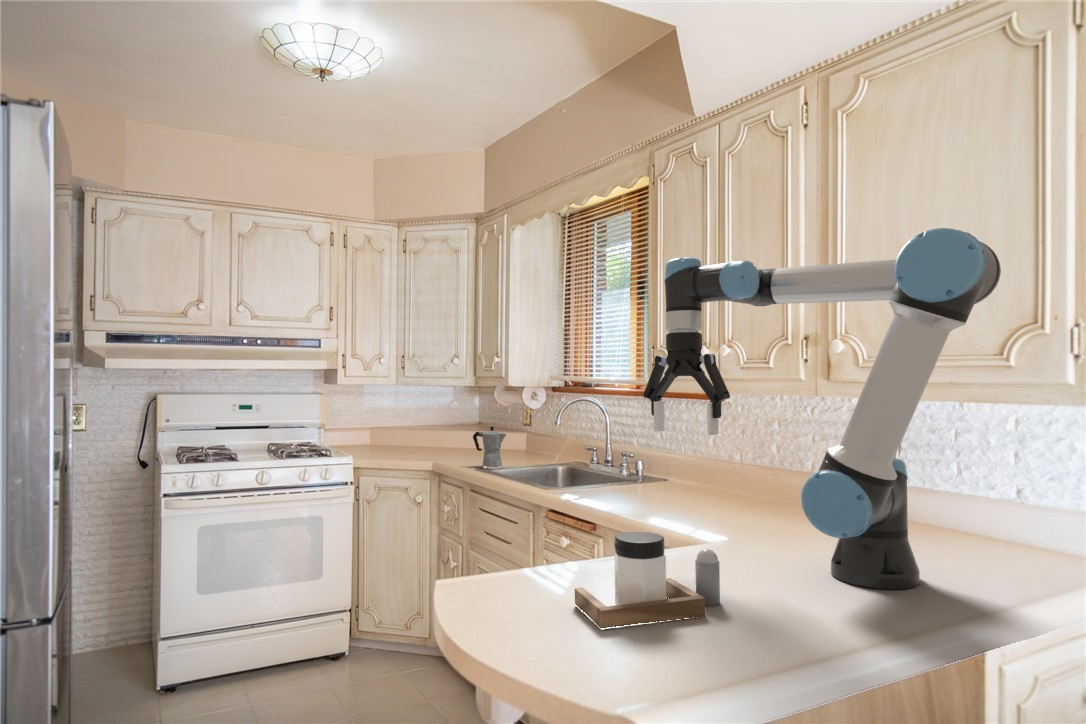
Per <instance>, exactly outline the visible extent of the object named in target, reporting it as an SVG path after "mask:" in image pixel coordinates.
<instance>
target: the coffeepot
mask: <svg viewBox="0 0 1086 724" xmlns="http://www.w3.org/2000/svg"><path fill="white" fill-rule="evenodd" d="M494 429H495V427H494V426H490V430H488V431H486V432H484V431H476V432H475V433H474V434H473V435H472V439H473V441H474V445H475V448H476V451H480V452H482V451H483V449H484V453H483V459H482V465H483V466H487V467H499V466H502V467H503V463H502V456H501V445H502V443H503V441H504V439H505V437H506V436H507V433H503V432H499V431H495V430H494ZM478 437H482V443H483V448H480V443H479V440H478Z"/></svg>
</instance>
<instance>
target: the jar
mask: <svg viewBox="0 0 1086 724" xmlns="http://www.w3.org/2000/svg"><path fill="white" fill-rule="evenodd" d="M666 557H667V556H666V555H665V537H664V536H663V535H661V534H659V533H655V532H648V531H625V532H621V533H617V534H616V535H615V536H614V601H615V602H614V604H616V605H623V604H631V603H640V602H648V601H656V600H665V599H667V598H666V578H667V561H666V559H667V558H666Z"/></svg>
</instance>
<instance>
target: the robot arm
mask: <svg viewBox="0 0 1086 724" xmlns="http://www.w3.org/2000/svg"><path fill="white" fill-rule="evenodd" d="M1001 270H1002V268H1001V262H1000V260H999V258H998V256H997V254H996V253H995V251H994V250H993V249H992V248H991V247H990V246H989V245H987V244H986V243H984V242H982V241H980V240H978V238H977V237H976V236H974V235H973V234H971V233H969V232H966V231H963V230H961V229H955V228H950V227H949V228H948V227H937V228H932V229H927V230H925V231H923V232H920V233H918V234H916V235H915V236H913V237H912V238H911V239H909V240H908V241H907V242H906V243H905V244H904V245H903V247H902V248H901V250H900V251H899V253H898V255H897V257H896V259H886V260H872V261H871V260H870V261H859V262H858V261H857V262H856V261H855V262H844V263H843V262H842V263H829V264H819V265H806V266H804V265H803V266H802V265H801V266H792V267H791V266H789V267H779V268H764V269H761V268H760V269H759V268H758V269H757V267H756V266H755V265H754V263H753V262H752V261H750V260H731V261H729V262H723V263H717V264H711V265H709V264H708V265H702V263H701V260H700V259H699V258H695V257H681V258H680V257H677V258H673V259H670V260H668V261H667V262H666V264H665V274H664V275H665V277H664V279H663V281H664V288H665V290H664V291H665V331H666V332H668V333H666V335H665V350H666V351H667V354H666V355H667V356H665V355H656V356H655V357H654V364H653V368H652V371H651V373H650V376H649V379H648V381H647V384H646V387H645V389H644V391H643V393H642V395H643V398H644V399H649V400H650V405H651V406H650V407H651V408H650V409H651V410H650V411H651V413H650V414H651V416H653V432H665V401H664V400H663V399H662V398H663V397H664V396H665V394H666V392H667V391H668V389H669V388H670V386H671V385H672V384H673V382H674V380H675V379H677V378H678V377H692V378H693V379H694V380H695V381H696V382H697V384H698V385H699V387H700V388H701V389H702V391H703V392H704V394H705V395H706V397H708V399H709V402H707V405H706V406H707V409H706V411H707V435H708V436H712V435H719V419H721V417H722V402H724V401H725V400H729V399H730V398H731V395H730V392H729V390H728V388H727V385H726V383H725V380H724V378H723V377H722V374H721V372H720V369H719V367H718V365H717V361H716V355H715V354H713V353H705V354H704V355H702V349H703V334H702V333H701V332H700V331H701V330H702V329H703V327H702V326H703V324H702V323H703V322H702V321H703V319H702V312H703V311H702V310H703V309H702V308H703V307H702V305H703V303H711V302H712V303H713V302H733V303H738V304H740V303H741V304H745V305H746V304H747V305H751V306H754V307H768V306H771V305H784V304H786V305H787V304H788V305H789V304H813V303H814V304H815V303H816V304H817V303H842V302H843V303H846V302H847V303H848V302H850V303H851V302H875V301H876V302H877V301H880V302H881V301H888V304H889V305H890V307H891V309H892V311H893V316H892V319H891V321H890V323H889V326H888V328H887V331H886V332H885V336H884V338H883V341H882V342H881V345H880V347H879V349H878V353H877V354H876V357H875V359H874V362H873V364H872V366H871V369H870V371H869V374H868V377H867V378H866V381H865V383H864V386H863V388H862V390H861V392H860V395H859V397H858V400H857V402H856V405H855V407H854V409H853V411H852V414H851V417H850V419H849V422H848V424H847V426H846V428H845V431H844V433H843V436H842V438H841V441H840V442H839V443H838V444H835V445H832V446H829V447H828V448H827V450H826V453H825V455H824V457H823V459H822V461H821V463H820V467H819V469H818V471H817V472H814V473H813V474H811V475H810V477H808V479H807V480H805V482H804V484H803V486H802V488H801V492H800V503H801V509H802V510H803V512H804V515H805V517H806V518H807V520H808V521H809V523H810V524H811V525H812V526H813V527H814V528H815V529H816V530H818V531H819V532H821V533H822V534H824V535H826V536H828V537H831V538H836V539H837V543H836V546H835V548H834V551H833V554H832V558H831V560H830V574H831V575H832V577H834V578H835V579H837V580H839V581H841V582H844V583H848V584H851V585H856V586H861V587H863V588H864V587H865V588H871V589H872V588H873V589H880V590H882V589H883V590H905V589H912V588H916V587H917V586H919V585H920V581H921V580H920V578H921V577H920V568H919V565H918V563H917V561H916V558H915V555H914V552H913V549H912V547H911V545H910V541H909V531H908V530H909V527H908V526H909V525H908V524H909V522H908V518H909V517H908V479H909V478H908V474H907V465H906V463H905V461H903V460H902V459H899V458H895V457H896V455H897V453H898V450H899V449H900V446H901V444H902V441H903V439H904V437H905V434H906V433H907V430H908V428H909V426H910V423H911V422H912V421H911V420H912V419H913V417H914V414H915V412H916V410H917V407H918V405H919V402H920V401H921V398H922V397H923V394H924V391H925V389H926V387H927V386H928V383H929V380H930V378H931V376H932V374H933V371H934V369H935V367H936V364H937V363H938V360H939V358H940V355H941V353H942V351H943V348H944V346H945V344H946V342H947V340H948V337H949V335H950V333H951V332H952V331H953V330H956V329H958V328H960V327H962V326H965V325H966V323H967V321H968V319H969V317H970V314H971V312H972V310H973V308H974V305H976V304H979V303H980V302H982V301H984V300H985V299H986V298H988V297H989V296H991V294H992V293H993V291H995V289H996V287H997V286H998V284H999V281H1000V278H1001V274H1002V271H1001ZM702 364H703V366H704V368H705V370H706V372H707V375H708V376H709V377H707V375H706V372H705V371H704V369H703V368H702V367H701V365H702ZM666 366H668V367H667V369H666ZM665 369H666V370H665ZM663 374H664V375H663Z"/></svg>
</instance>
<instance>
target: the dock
mask: <svg viewBox="0 0 1086 724" xmlns="http://www.w3.org/2000/svg"><path fill="white" fill-rule="evenodd" d="M666 597H667V598H669V599H667V598H666V599H665V600H656V601H648V602H640V603H631V604H623V605H610V606H608V605H607V606H606V605H605V604H604V603H603V602H602V601H601V600H599V599H598V598H596V597H595V596H594V595H593V594H591V593H590V592H589V591H588V590H587V589H585V587H577V588H574V605H575V604H576V605H577V606H578V607H579V608H580V609H581V610H583V612H585V613H586V614H587V615H588V616H589V617H590V618H591V619H592V620H593V621H594V622H595V623H596V624H597V625H598V626H599V627H600V628H607V627H613V626H614V627H616V626H624V625H631V624H638V623H649V622H656V621H657V622H659V621H667V620H676V619H684V618H693V617H694V619H697V618H696V617H701V618H705V617H706V606H705V598H704V597H702V596H701V595H699V594H697V593H696V591H694V590H692V589H691V588H688V587H687V586H685V585H683V584H682V583H679V582H678V581H677V580H675V579H673V578H671V577H666Z"/></svg>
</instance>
